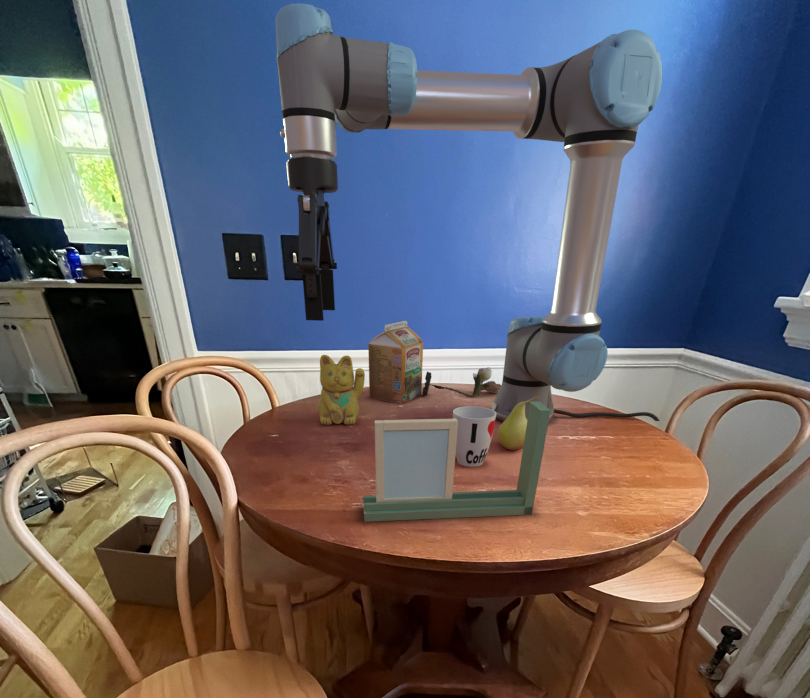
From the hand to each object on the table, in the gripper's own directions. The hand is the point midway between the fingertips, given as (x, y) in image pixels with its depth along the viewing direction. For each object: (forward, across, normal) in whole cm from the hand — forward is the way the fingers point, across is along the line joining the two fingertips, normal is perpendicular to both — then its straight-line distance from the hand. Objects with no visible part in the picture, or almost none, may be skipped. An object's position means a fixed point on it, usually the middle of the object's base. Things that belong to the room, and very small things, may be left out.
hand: (321, 315), depth 83 cm
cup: (+26, +2, +28) cm, 38 cm away
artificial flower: (+26, -48, +31) cm, 62 cm away
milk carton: (+26, -45, +12) cm, 53 cm away
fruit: (+26, -6, +38) cm, 47 cm away
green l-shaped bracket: (+26, +22, +22) cm, 41 cm away
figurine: (+26, -23, 0) cm, 35 cm away
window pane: (+24, +23, +17) cm, 37 cm away
